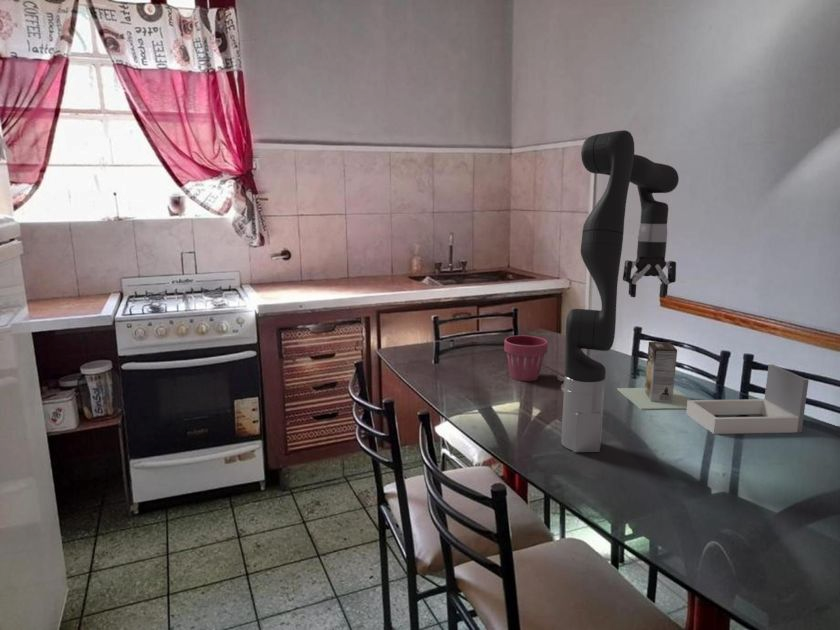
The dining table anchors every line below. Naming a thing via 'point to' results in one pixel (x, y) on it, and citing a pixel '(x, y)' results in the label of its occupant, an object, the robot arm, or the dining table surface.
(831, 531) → the dining table surface
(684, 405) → the mat
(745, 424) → the case
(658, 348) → the coffee box
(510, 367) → the plant pot
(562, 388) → the pliers
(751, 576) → the dining table surface
